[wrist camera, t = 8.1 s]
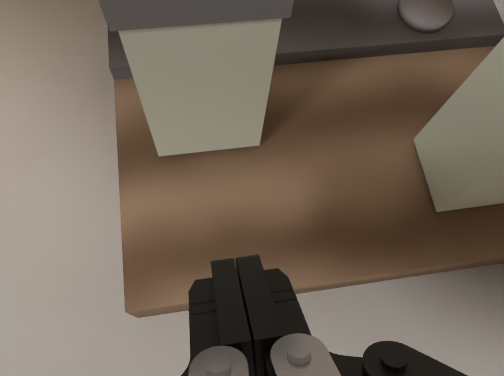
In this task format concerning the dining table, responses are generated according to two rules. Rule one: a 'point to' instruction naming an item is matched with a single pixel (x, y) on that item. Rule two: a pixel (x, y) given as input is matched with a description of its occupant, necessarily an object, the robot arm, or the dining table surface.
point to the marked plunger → (200, 67)
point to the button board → (313, 160)
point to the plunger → (468, 141)
